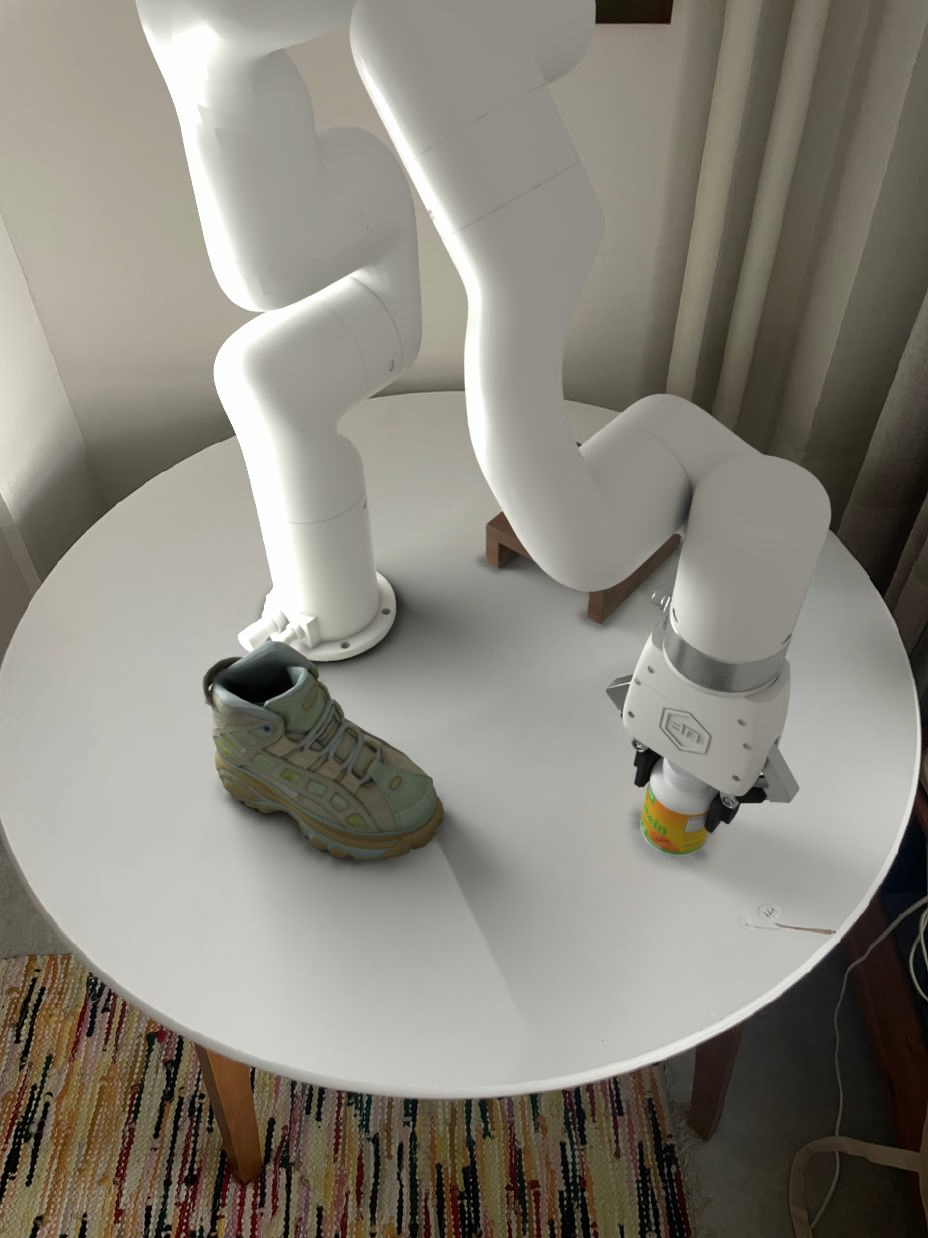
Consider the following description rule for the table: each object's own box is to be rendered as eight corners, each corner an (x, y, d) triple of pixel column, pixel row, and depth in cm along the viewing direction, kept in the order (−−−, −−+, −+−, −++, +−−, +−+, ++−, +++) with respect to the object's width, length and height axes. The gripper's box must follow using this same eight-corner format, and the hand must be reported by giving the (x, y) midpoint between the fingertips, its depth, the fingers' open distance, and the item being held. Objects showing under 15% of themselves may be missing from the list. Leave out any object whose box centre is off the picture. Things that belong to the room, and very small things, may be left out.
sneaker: (373, 915, 77) (364, 786, 67) (197, 789, 85) (166, 659, 75) (461, 823, 83) (464, 693, 73) (290, 715, 92) (272, 586, 82)
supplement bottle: (626, 814, 82) (641, 742, 75) (684, 791, 84) (704, 718, 76) (661, 869, 79) (680, 799, 72) (721, 844, 80) (745, 774, 73)
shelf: (600, 625, 97) (606, 571, 92) (485, 561, 103) (485, 508, 98) (679, 546, 104) (688, 493, 99) (567, 491, 111) (571, 438, 106)
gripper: (579, 607, 66) (561, 768, 80) (824, 745, 59) (759, 897, 72) (643, 545, 70) (616, 708, 83) (880, 668, 63) (809, 826, 76)
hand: (682, 795), depth 78 cm, fingers closed on supplement bottle, 5 cm apart
